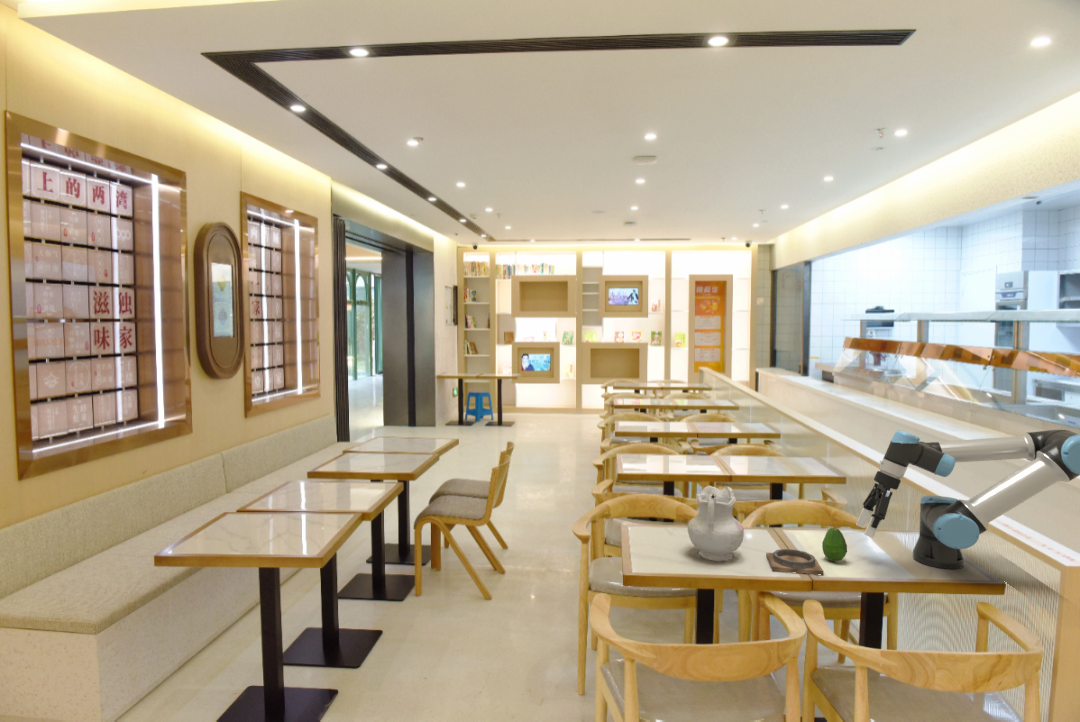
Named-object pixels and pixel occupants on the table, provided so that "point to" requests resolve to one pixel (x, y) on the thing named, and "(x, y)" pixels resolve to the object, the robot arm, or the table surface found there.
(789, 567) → the ring stand
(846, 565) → the table surface
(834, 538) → the avocado
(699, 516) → the ceramic pitcher
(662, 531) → the table surface
